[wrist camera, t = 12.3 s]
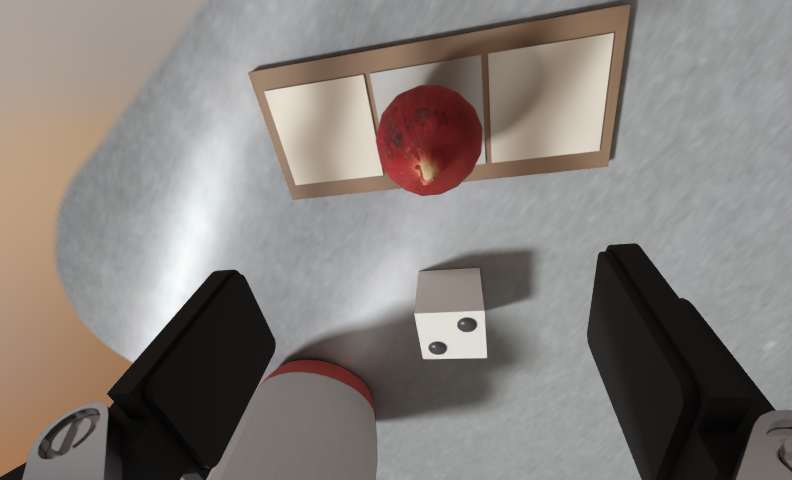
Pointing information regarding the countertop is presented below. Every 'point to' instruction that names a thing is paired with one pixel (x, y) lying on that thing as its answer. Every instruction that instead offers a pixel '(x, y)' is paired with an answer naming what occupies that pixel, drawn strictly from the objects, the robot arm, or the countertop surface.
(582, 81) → the brown flat rectangular frame
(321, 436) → the citrus juicer
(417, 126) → the onion
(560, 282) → the countertop surface
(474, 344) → the die
